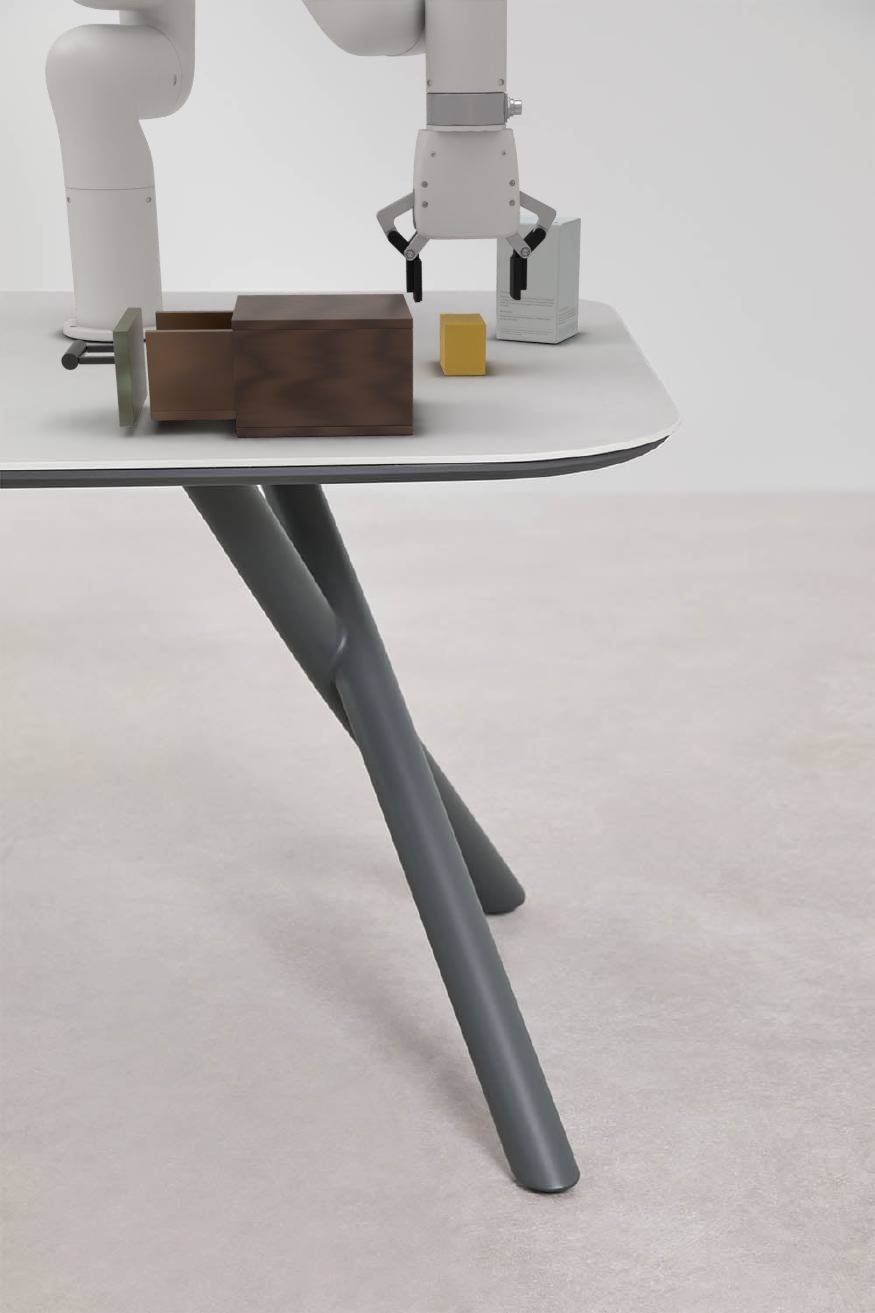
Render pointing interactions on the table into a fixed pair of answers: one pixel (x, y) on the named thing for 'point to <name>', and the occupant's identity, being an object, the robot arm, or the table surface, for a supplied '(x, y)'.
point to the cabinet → (323, 365)
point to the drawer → (169, 365)
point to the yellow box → (462, 344)
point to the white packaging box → (541, 285)
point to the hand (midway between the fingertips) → (466, 299)
